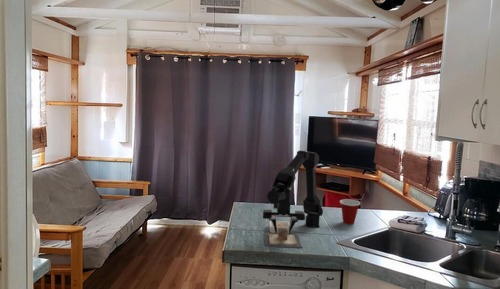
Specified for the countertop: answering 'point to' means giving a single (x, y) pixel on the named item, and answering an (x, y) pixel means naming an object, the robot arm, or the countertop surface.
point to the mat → (267, 243)
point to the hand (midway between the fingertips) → (282, 233)
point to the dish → (284, 226)
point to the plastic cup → (349, 210)
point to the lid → (282, 238)
